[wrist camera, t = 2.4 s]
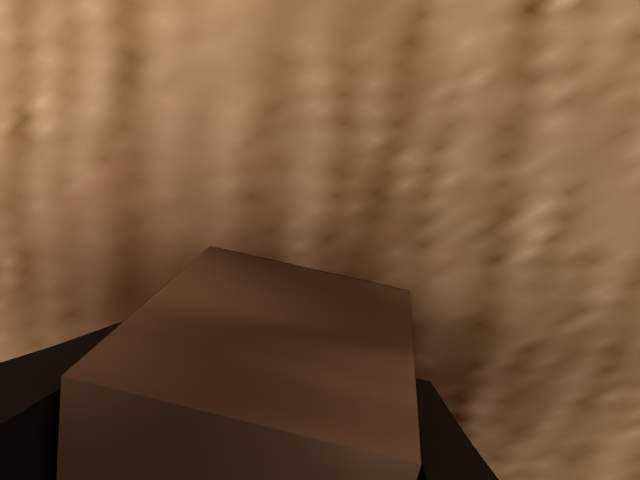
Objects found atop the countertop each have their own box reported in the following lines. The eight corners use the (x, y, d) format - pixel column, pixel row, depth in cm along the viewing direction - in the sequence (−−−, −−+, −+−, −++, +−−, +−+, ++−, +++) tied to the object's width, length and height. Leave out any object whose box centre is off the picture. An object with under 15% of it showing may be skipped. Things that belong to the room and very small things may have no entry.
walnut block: (409, 290, 10) (421, 464, 6) (366, 461, 12) (346, 723, 7) (210, 246, 11) (61, 375, 6) (187, 415, 12) (48, 638, 7)
